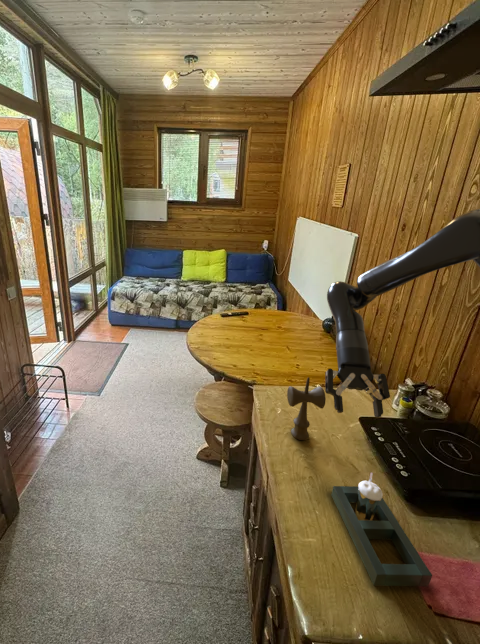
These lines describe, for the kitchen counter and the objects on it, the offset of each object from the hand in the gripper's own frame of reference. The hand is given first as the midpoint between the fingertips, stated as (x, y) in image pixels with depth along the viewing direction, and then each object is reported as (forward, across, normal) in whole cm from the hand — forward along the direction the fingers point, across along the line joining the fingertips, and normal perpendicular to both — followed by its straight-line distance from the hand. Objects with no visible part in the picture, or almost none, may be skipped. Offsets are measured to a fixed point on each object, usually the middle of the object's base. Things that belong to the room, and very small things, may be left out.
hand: (359, 414), depth 74 cm
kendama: (+4, -10, +21) cm, 24 cm away
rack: (+24, +1, +2) cm, 24 cm away
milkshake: (+21, 0, +4) cm, 22 cm away
